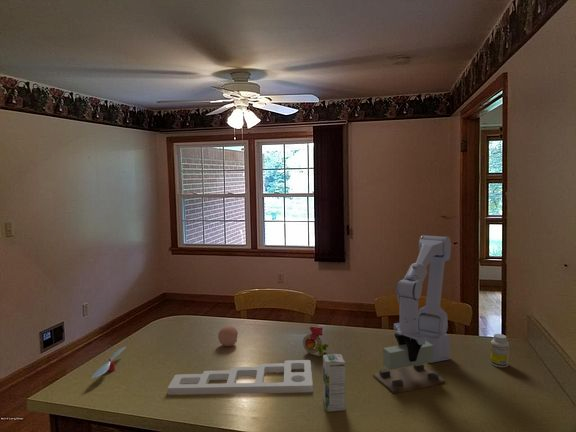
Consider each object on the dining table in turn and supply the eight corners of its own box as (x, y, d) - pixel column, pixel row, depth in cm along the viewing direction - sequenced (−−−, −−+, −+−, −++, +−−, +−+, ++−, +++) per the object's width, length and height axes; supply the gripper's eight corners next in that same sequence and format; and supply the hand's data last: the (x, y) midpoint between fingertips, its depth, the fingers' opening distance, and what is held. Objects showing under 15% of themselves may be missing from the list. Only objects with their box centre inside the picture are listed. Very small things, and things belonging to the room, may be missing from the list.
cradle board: (422, 366, 145) (422, 360, 144) (445, 382, 133) (445, 375, 133) (373, 376, 139) (373, 369, 139) (393, 393, 128) (393, 386, 127)
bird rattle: (307, 362, 155) (329, 355, 152) (295, 335, 155) (316, 327, 153) (310, 355, 161) (332, 348, 158) (299, 329, 161) (320, 321, 159)
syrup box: (322, 401, 124) (321, 354, 123) (342, 400, 125) (341, 353, 123) (325, 412, 118) (325, 362, 117) (346, 410, 119) (345, 361, 118)
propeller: (131, 355, 160) (130, 344, 160) (98, 388, 136) (97, 376, 135) (120, 355, 161) (120, 344, 160) (85, 388, 136) (84, 375, 135)
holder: (167, 396, 130) (167, 388, 130) (182, 369, 148) (182, 362, 148) (312, 393, 130) (312, 385, 130) (310, 367, 148) (310, 359, 147)
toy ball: (242, 344, 168) (241, 325, 168) (229, 351, 162) (229, 331, 161) (227, 340, 173) (226, 321, 172) (214, 347, 166) (213, 327, 165)
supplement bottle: (496, 359, 149) (496, 331, 148) (511, 365, 144) (512, 336, 143) (487, 363, 146) (487, 335, 145) (502, 369, 141) (503, 340, 140)
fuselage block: (425, 356, 140) (425, 340, 139) (433, 361, 136) (433, 345, 136) (383, 364, 135) (383, 347, 134) (390, 369, 131) (390, 352, 131)
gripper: (385, 311, 140) (385, 351, 141) (411, 326, 126) (411, 369, 127) (404, 309, 142) (403, 348, 143) (431, 323, 128) (430, 365, 129)
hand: (408, 358), depth 135 cm, fingers closed on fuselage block, 4 cm apart
